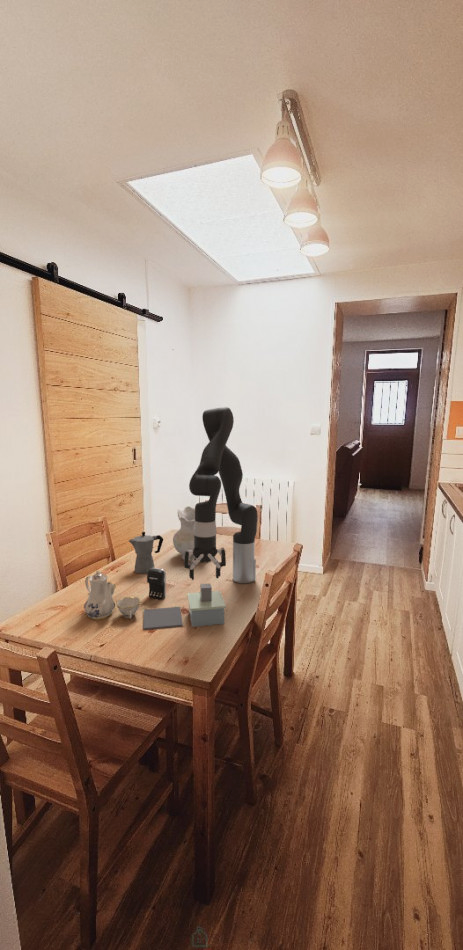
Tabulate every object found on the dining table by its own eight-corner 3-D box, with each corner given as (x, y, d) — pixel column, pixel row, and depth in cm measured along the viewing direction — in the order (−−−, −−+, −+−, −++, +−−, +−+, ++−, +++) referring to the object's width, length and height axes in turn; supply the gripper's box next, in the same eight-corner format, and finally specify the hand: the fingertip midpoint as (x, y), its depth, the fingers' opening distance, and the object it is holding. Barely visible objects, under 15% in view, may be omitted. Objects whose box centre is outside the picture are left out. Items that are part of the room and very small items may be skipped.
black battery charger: (146, 598, 160) (145, 569, 159) (151, 593, 164) (150, 566, 162) (162, 600, 158) (161, 572, 156) (166, 596, 162) (166, 568, 160)
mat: (180, 608, 152) (180, 606, 152) (182, 626, 140) (182, 624, 140) (144, 611, 150) (144, 609, 150) (143, 629, 137) (143, 628, 137)
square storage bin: (219, 608, 152) (219, 593, 151) (224, 623, 141) (224, 607, 140) (189, 611, 150) (188, 595, 149) (191, 626, 139) (191, 610, 138)
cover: (220, 592, 152) (220, 577, 151) (225, 608, 140) (225, 591, 139) (187, 595, 149) (187, 580, 149) (190, 611, 138) (190, 594, 137)
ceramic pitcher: (223, 558, 206) (225, 509, 204) (199, 568, 190) (201, 514, 188) (189, 550, 218) (190, 503, 215) (164, 558, 201) (165, 508, 199)
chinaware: (149, 619, 148) (152, 573, 146) (109, 633, 135) (111, 584, 134) (104, 596, 165) (106, 555, 164) (65, 607, 153) (66, 563, 151)
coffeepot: (131, 576, 181) (130, 536, 178) (128, 568, 190) (126, 530, 187) (166, 571, 187) (165, 532, 184) (161, 563, 196) (160, 527, 193)
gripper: (224, 529, 146) (223, 573, 148) (183, 530, 143) (183, 575, 146) (227, 535, 139) (226, 581, 141) (184, 537, 136) (184, 583, 139)
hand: (204, 578), depth 143 cm, fingers open, 8 cm apart
